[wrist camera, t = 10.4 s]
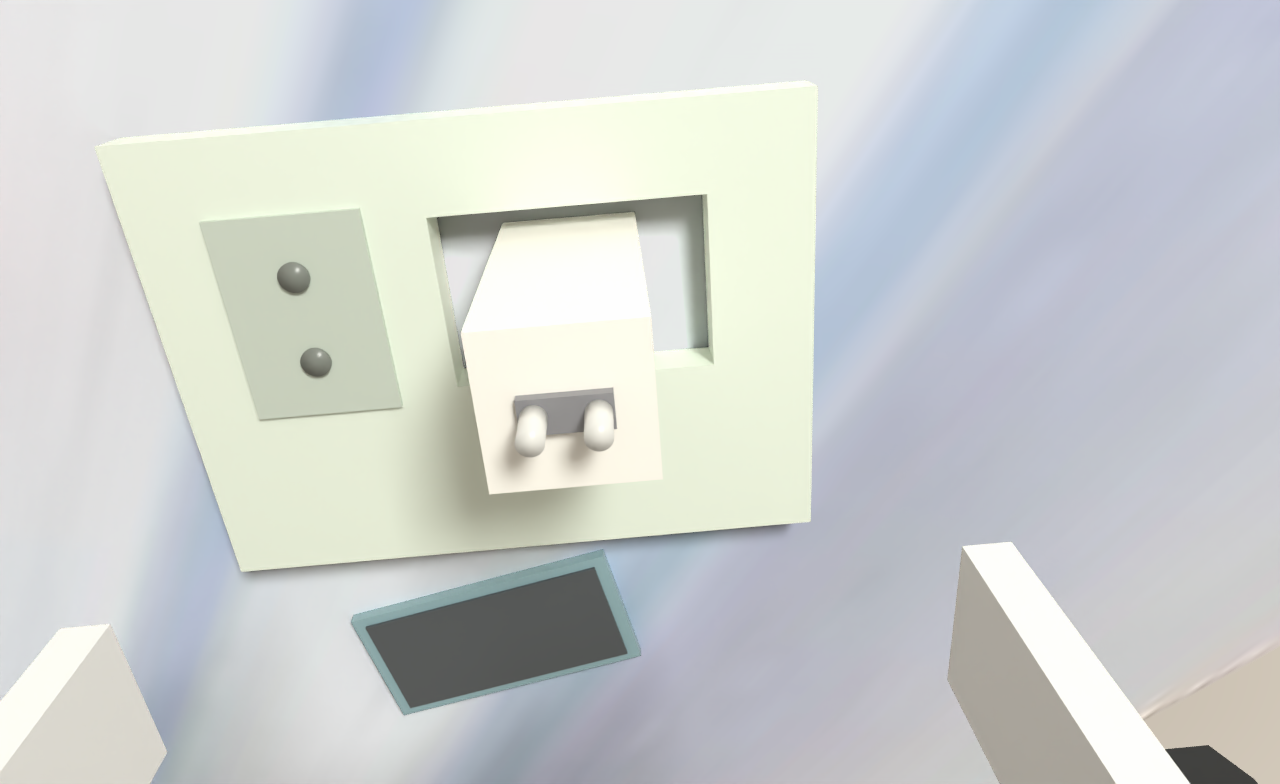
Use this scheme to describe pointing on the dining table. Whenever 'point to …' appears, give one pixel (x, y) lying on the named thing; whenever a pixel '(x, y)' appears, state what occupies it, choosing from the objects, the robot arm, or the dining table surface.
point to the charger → (564, 356)
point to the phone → (499, 633)
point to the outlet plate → (425, 323)
